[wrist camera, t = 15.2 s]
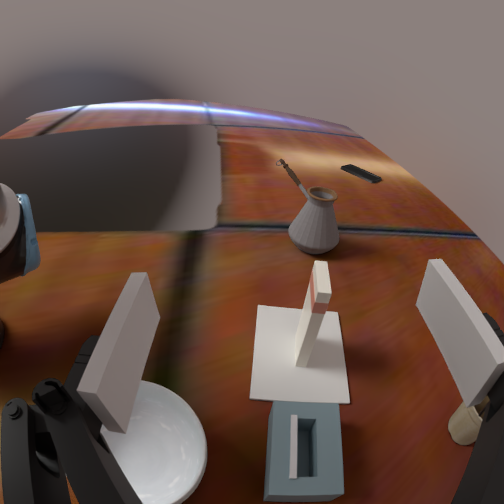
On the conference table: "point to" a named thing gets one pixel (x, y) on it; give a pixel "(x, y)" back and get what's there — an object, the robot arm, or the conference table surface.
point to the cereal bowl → (160, 446)
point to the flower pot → (466, 423)
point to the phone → (361, 173)
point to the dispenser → (303, 453)
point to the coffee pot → (314, 219)
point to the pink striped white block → (312, 312)
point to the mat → (283, 360)
